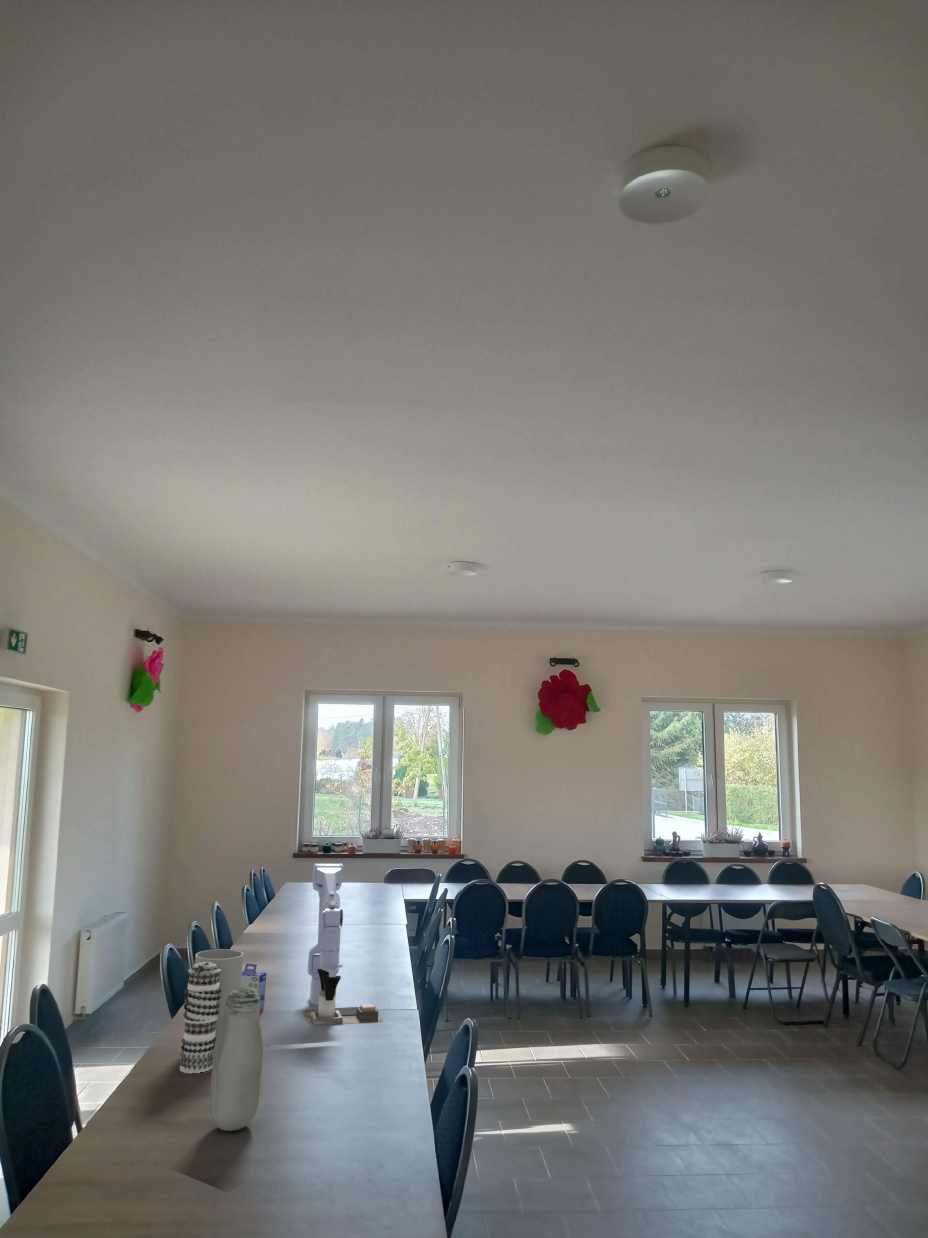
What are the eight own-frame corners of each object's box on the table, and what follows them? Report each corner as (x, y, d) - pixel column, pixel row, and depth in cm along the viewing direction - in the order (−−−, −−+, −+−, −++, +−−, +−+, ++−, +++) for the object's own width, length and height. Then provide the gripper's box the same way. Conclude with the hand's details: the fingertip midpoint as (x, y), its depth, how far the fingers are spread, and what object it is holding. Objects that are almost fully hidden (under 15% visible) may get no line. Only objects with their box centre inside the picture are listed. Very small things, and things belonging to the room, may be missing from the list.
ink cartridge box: (264, 1013, 264) (268, 964, 267) (257, 1018, 259) (260, 968, 261) (235, 1011, 266) (238, 962, 269) (227, 1015, 261) (230, 966, 263)
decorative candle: (181, 1076, 210) (190, 969, 214) (175, 1064, 218) (183, 961, 222) (218, 1071, 214) (226, 966, 218) (211, 1060, 222) (219, 959, 226)
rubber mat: (335, 1009, 268) (335, 1008, 268) (360, 1008, 270) (360, 1007, 270) (339, 1016, 260) (339, 1015, 260) (365, 1015, 263) (365, 1014, 263)
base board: (302, 1014, 265) (303, 1002, 265) (372, 1010, 271) (373, 999, 272) (309, 1029, 250) (310, 1017, 250) (383, 1025, 256) (383, 1013, 257)
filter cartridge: (316, 1018, 258) (318, 990, 259) (333, 1017, 259) (334, 989, 261) (319, 1023, 253) (320, 994, 255) (335, 1022, 255) (337, 993, 256)
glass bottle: (232, 1142, 174) (242, 997, 179) (198, 1130, 180) (209, 989, 185) (267, 1126, 183) (276, 988, 188) (233, 1114, 188) (243, 980, 193)
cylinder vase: (245, 1049, 231) (252, 952, 235) (217, 1063, 220) (225, 961, 224) (206, 1043, 235) (213, 947, 240) (177, 1056, 224) (185, 956, 228)
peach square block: (360, 1014, 261) (360, 1004, 262) (371, 1014, 262) (372, 1004, 263) (362, 1018, 258) (363, 1007, 258) (374, 1017, 259) (374, 1007, 259)
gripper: (347, 954, 254) (344, 1002, 252) (339, 944, 268) (336, 990, 265) (323, 955, 252) (320, 1004, 250) (316, 945, 266) (313, 991, 263)
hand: (327, 997), depth 257 cm, fingers open, 7 cm apart
